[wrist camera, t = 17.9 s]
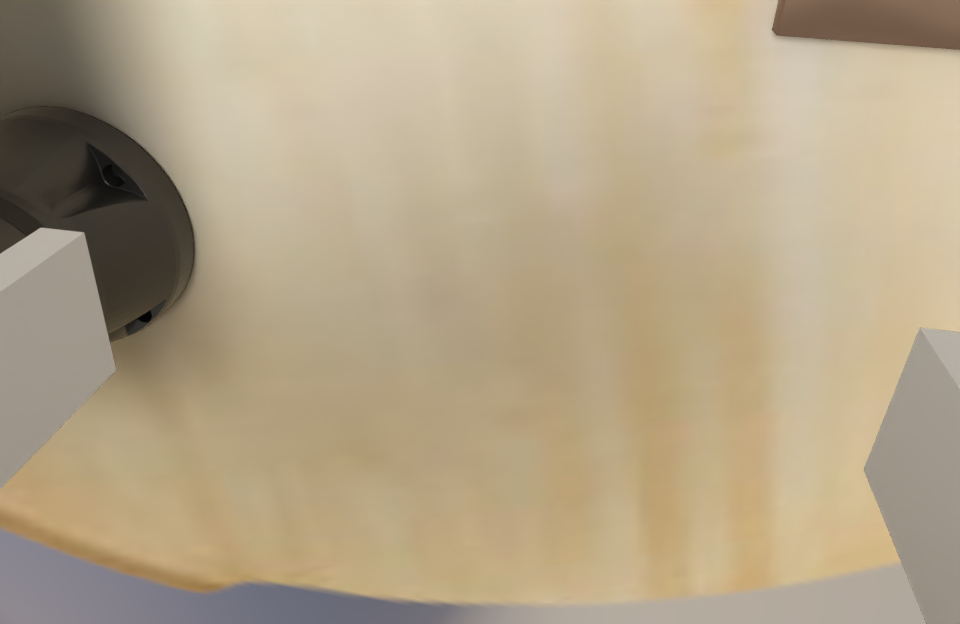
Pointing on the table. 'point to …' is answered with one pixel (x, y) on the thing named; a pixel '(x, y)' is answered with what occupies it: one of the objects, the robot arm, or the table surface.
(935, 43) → the post stand
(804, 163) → the table surface
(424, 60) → the table surface
